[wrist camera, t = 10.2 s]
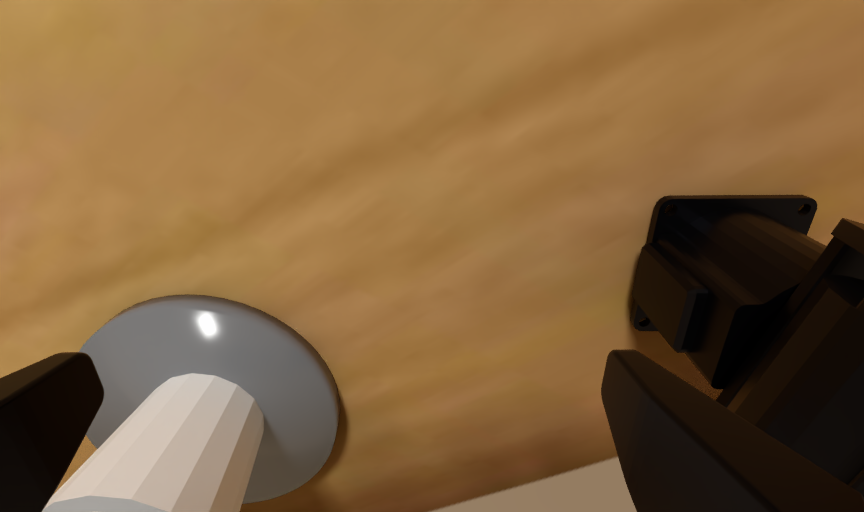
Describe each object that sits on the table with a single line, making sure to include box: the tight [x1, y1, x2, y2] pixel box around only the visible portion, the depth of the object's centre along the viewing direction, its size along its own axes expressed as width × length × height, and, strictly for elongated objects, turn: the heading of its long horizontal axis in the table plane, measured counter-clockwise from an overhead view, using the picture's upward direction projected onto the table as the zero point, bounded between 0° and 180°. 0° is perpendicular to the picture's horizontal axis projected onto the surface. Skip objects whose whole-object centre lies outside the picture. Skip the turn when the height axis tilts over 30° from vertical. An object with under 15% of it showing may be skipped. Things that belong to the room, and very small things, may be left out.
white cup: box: [42, 373, 264, 512], centre depth 20 cm, size 7×7×7 cm
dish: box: [79, 295, 340, 504], centre depth 23 cm, size 13×13×1 cm
